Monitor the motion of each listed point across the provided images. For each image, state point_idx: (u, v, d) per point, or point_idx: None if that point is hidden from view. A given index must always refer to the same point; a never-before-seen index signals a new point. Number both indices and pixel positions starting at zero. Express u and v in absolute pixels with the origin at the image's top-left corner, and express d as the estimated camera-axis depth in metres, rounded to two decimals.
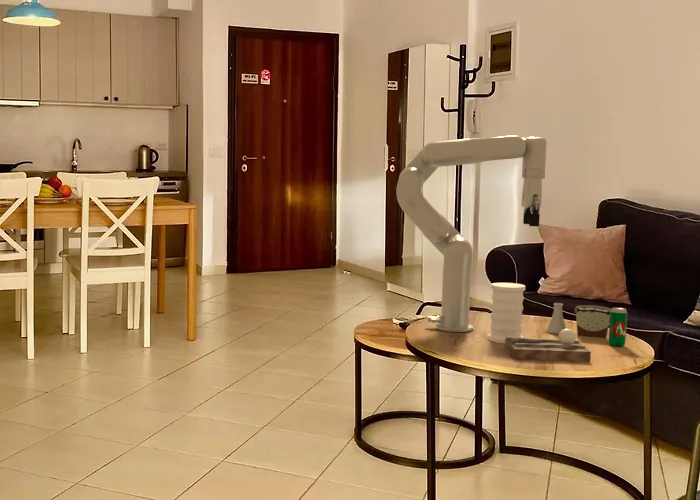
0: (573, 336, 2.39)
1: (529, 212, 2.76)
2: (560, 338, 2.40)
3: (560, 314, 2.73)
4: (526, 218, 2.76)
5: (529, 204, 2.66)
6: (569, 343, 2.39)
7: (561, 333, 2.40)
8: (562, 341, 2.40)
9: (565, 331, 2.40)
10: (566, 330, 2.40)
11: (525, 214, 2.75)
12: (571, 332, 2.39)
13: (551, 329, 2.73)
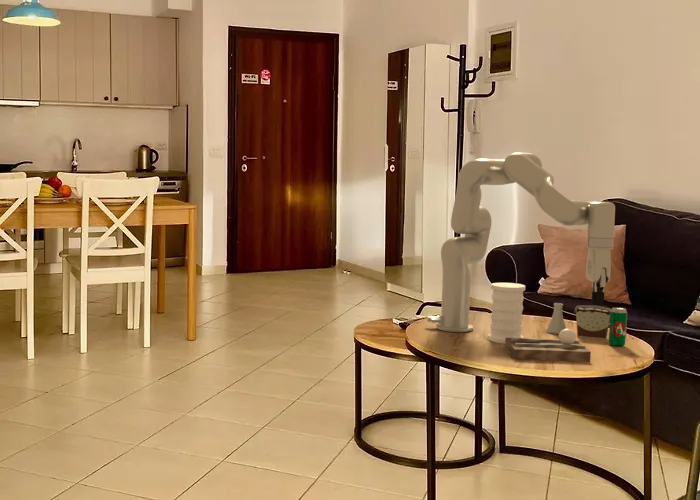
0: (573, 336, 2.39)
1: None
2: (560, 338, 2.40)
3: (560, 314, 2.73)
4: None
5: (597, 278, 2.34)
6: (569, 343, 2.39)
7: (561, 333, 2.40)
8: (562, 341, 2.40)
9: (565, 331, 2.40)
10: (566, 330, 2.40)
11: None
12: (571, 332, 2.39)
13: (551, 329, 2.73)
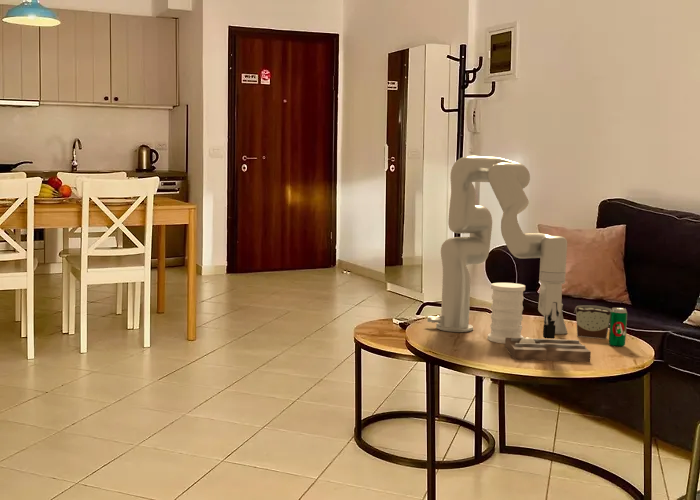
0: None
1: None
2: (523, 340, 2.41)
3: (560, 314, 2.73)
4: None
5: (547, 313, 2.36)
6: None
7: (528, 338, 2.41)
8: None
9: (532, 341, 2.40)
10: (533, 341, 2.40)
11: None
12: None
13: None
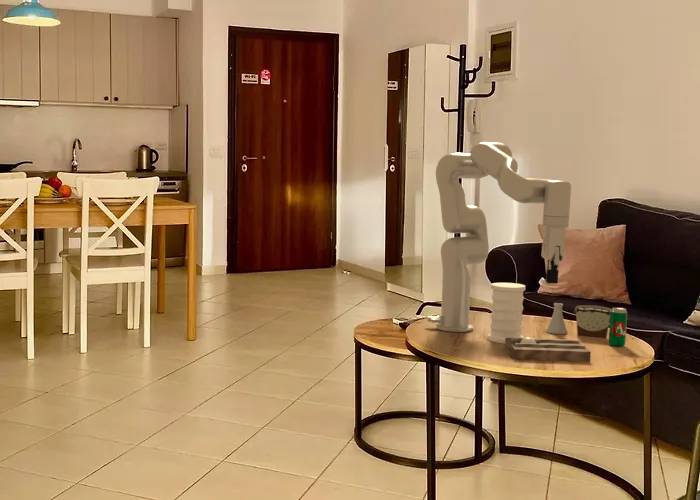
0: None
1: None
2: (525, 339, 2.41)
3: (560, 314, 2.73)
4: None
5: (550, 256, 2.35)
6: None
7: (530, 338, 2.41)
8: (523, 342, 2.40)
9: (533, 341, 2.40)
10: (534, 342, 2.40)
11: None
12: None
13: (551, 328, 2.73)
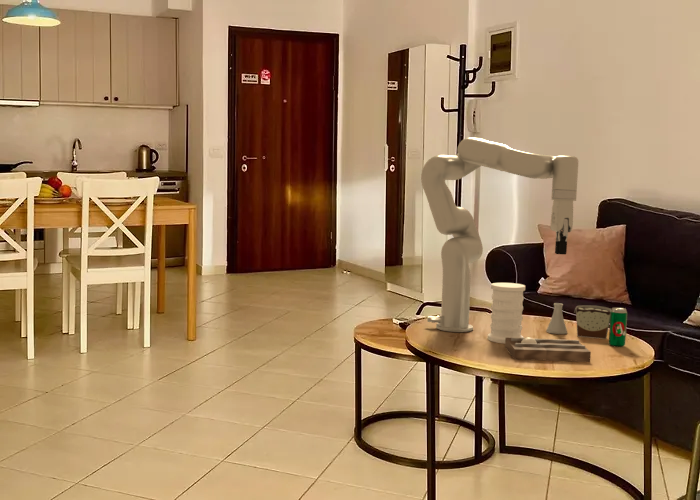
0: None
1: None
2: (526, 339, 2.41)
3: (560, 314, 2.73)
4: None
5: (559, 228, 2.47)
6: None
7: (531, 338, 2.41)
8: (524, 342, 2.40)
9: (534, 341, 2.40)
10: (535, 342, 2.40)
11: None
12: None
13: (551, 328, 2.73)
